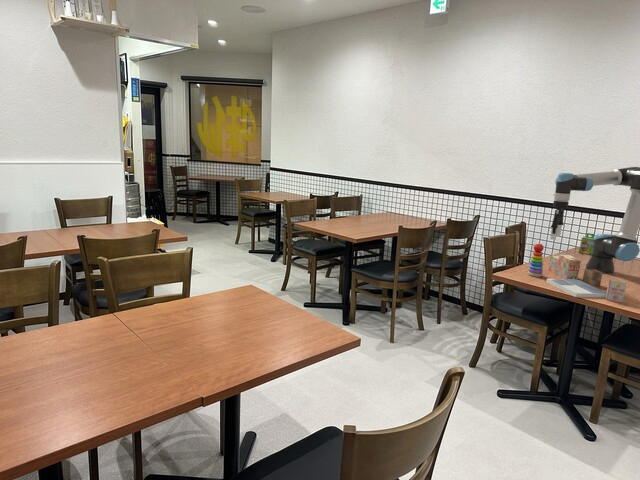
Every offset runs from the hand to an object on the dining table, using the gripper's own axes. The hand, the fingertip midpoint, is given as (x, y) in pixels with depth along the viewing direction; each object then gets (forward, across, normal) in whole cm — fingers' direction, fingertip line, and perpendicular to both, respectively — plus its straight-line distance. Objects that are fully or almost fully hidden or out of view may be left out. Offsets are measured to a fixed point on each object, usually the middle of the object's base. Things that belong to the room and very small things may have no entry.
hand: (555, 237), depth 253 cm
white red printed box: (+23, +26, +34) cm, 48 cm away
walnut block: (+22, +3, +21) cm, 31 cm away
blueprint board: (+22, +20, +16) cm, 34 cm away
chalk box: (+23, -90, +9) cm, 94 cm away
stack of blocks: (+23, -6, +6) cm, 24 cm away
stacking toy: (+22, +7, -6) cm, 24 cm away
